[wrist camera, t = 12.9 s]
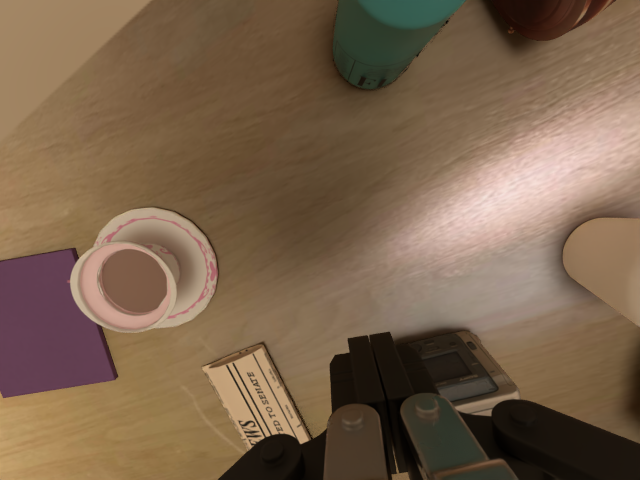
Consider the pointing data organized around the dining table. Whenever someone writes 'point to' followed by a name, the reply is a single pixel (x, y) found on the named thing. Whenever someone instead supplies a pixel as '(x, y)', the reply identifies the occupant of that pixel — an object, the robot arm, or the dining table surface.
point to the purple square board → (47, 328)
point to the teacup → (145, 272)
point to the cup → (608, 262)
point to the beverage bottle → (384, 36)
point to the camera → (466, 372)
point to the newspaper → (255, 396)
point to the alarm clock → (548, 16)
